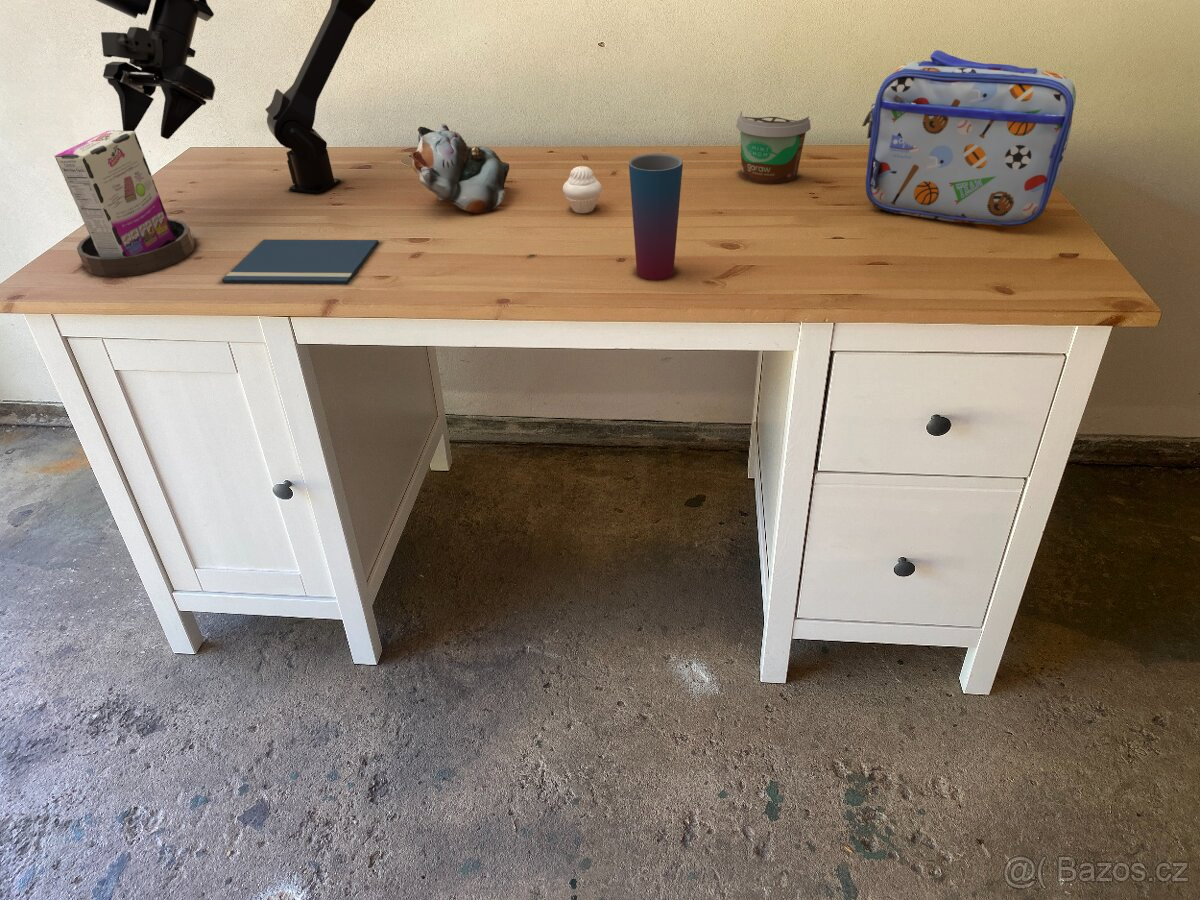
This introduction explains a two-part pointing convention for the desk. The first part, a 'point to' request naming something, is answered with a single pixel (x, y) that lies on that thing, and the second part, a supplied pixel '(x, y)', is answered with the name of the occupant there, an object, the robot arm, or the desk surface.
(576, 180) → the muffin
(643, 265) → the cup
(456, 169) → the lucky cat figurine
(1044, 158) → the lunch box
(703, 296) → the desk surface
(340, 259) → the notebook
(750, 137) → the food container
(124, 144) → the candy bar box
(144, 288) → the desk surface
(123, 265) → the pan
